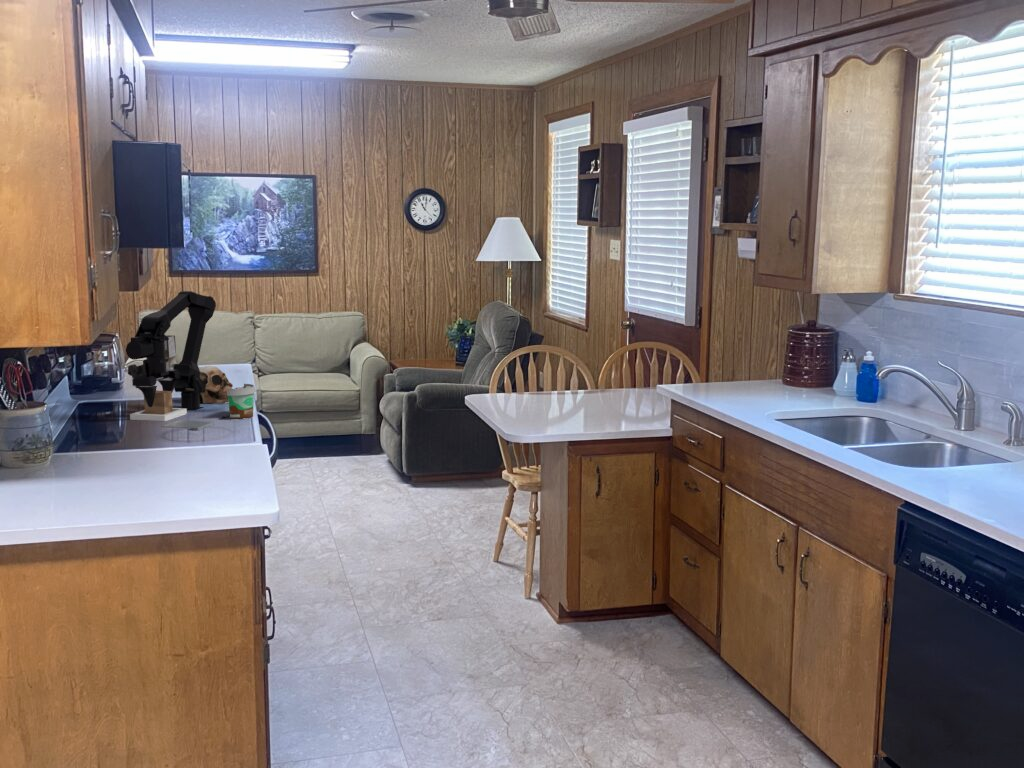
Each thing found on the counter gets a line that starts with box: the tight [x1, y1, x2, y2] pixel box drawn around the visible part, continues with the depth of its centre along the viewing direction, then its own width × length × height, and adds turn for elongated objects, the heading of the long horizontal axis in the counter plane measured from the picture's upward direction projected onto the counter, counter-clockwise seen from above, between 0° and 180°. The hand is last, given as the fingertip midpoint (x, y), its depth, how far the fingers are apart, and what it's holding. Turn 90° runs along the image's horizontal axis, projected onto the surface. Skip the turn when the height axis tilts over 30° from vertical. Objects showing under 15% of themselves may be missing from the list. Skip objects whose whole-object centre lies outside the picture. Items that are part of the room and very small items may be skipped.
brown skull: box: [198, 365, 234, 404], centre depth 346 cm, size 16×17×13 cm
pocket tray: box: [129, 407, 188, 422], centre depth 314 cm, size 13×12×2 cm
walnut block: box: [143, 390, 173, 415], centre depth 313 cm, size 4×7×8 cm, turn 78°
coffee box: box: [165, 334, 178, 369], centre depth 413 cm, size 9×6×16 cm
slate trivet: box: [161, 419, 215, 431], centre depth 301 cm, size 10×12×1 cm
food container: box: [227, 383, 257, 420], centre depth 316 cm, size 12×6×10 cm, turn 168°
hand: (158, 404), depth 313 cm, fingers open, 9 cm apart
